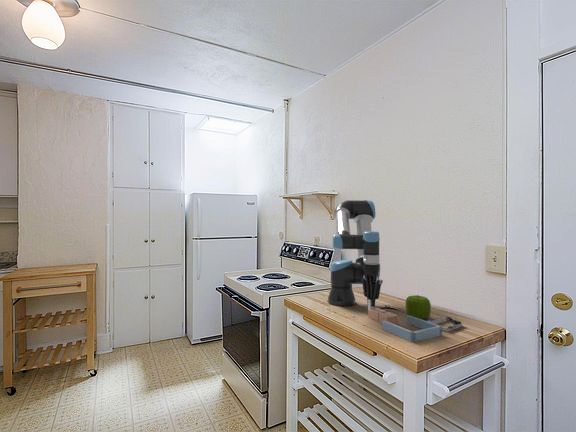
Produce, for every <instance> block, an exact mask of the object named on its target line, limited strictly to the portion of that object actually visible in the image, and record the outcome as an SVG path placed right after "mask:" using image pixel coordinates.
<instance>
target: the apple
mask: <svg viewBox="0 0 576 432" xmlns="http://www.w3.org/2000/svg"><path fill="white" fill-rule="evenodd" d="M431 309H432V305H431V302H430V300H429V299H428V298H427V296H422V295H418V294H417V295H414V294H413V295H409V296H408V297H406V299H405V312H406V315H407V316H408V315H410V316H413V317H416V318H419V319H422V320H425V319H428V318H429V317H431V312H432V311H431Z"/></svg>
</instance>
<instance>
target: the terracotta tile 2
mask: <svg viewBox="0 0 576 432" xmlns="http://www.w3.org/2000/svg"><path fill="white" fill-rule="evenodd" d="M383 320H385V321H387V322H390V323H392V324H395V325H397V326H398V325H399V315H398V314H395V313H394V312H391V311H387V312H385V313H379V321H378V322H379V323H380V324H382V321H383Z"/></svg>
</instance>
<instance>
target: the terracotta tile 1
mask: <svg viewBox="0 0 576 432" xmlns="http://www.w3.org/2000/svg"><path fill="white" fill-rule="evenodd" d="M385 312H388V311H387V310H385V309H381V308H378V307H374V309H370V310H368V309H367V318H368V319H369V320H370V319H371V320H373V321H376V322H379V313H385Z"/></svg>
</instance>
